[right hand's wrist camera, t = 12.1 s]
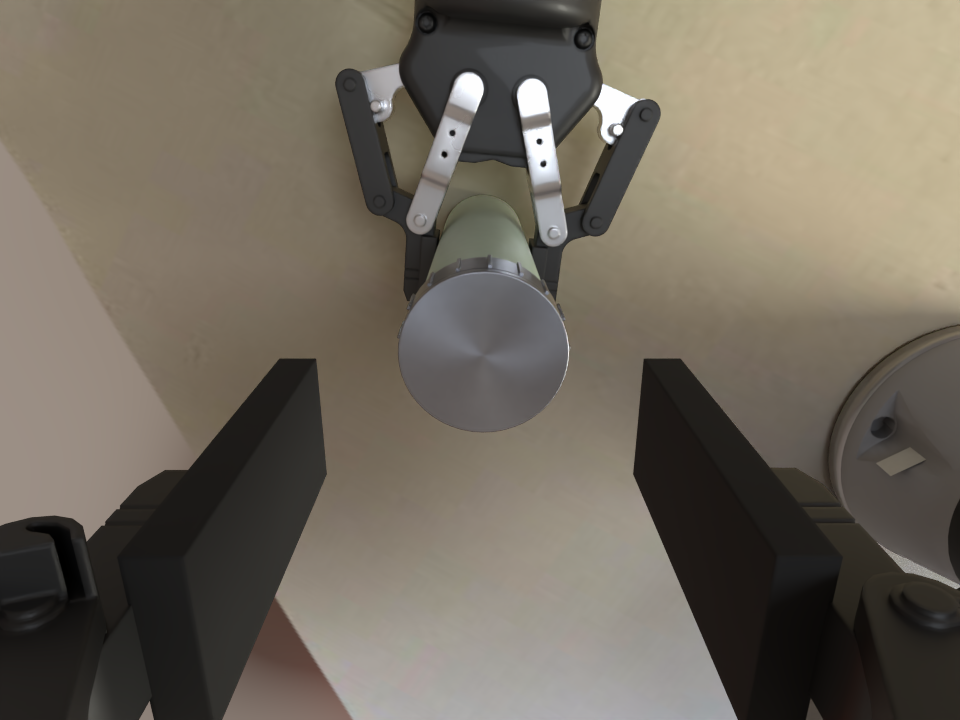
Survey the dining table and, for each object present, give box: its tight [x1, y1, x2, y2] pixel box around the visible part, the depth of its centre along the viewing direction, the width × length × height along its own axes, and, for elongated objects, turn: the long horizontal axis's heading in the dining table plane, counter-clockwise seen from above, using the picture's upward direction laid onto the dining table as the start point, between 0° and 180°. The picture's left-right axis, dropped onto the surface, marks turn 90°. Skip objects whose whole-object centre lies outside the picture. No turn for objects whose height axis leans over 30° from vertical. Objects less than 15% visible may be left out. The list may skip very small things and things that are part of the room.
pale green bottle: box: [426, 195, 540, 281], centre depth 28 cm, size 4×4×19 cm
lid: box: [398, 255, 570, 432], centre depth 19 cm, size 5×5×2 cm
